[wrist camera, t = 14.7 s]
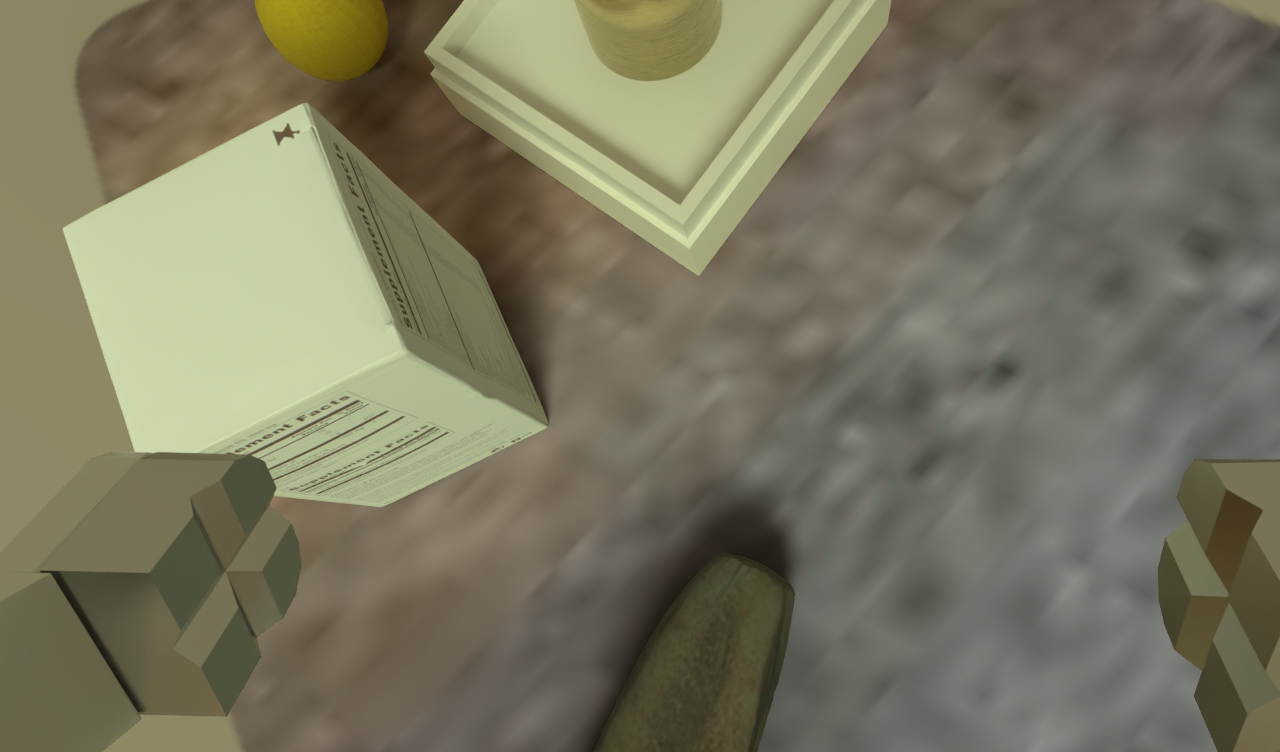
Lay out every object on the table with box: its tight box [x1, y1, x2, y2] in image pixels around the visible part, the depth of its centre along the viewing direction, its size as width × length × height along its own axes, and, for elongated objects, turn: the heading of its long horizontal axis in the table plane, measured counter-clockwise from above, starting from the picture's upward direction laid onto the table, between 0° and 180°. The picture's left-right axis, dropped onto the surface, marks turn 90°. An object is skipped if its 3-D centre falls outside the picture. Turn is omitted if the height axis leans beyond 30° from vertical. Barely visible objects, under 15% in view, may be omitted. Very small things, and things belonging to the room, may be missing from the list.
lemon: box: [255, 0, 388, 81], centre depth 45 cm, size 6×6×8 cm
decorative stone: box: [592, 552, 795, 752], centre depth 38 cm, size 17×6×4 cm, turn 156°
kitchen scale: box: [424, 0, 891, 276], centre depth 43 cm, size 15×15×6 cm
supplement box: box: [63, 103, 548, 507], centre depth 37 cm, size 10×9×17 cm
